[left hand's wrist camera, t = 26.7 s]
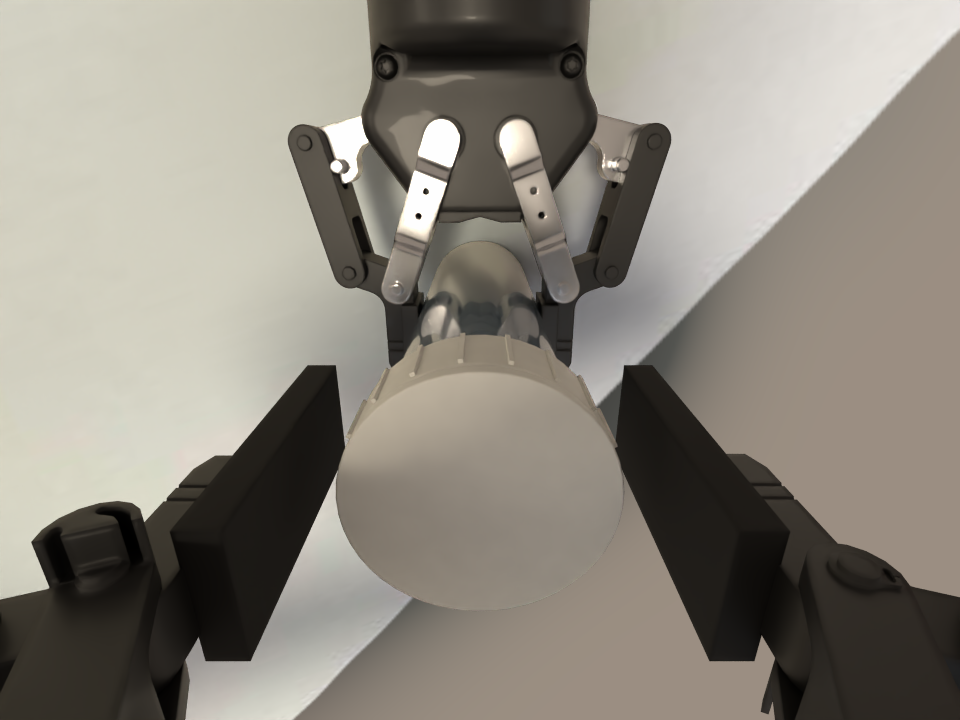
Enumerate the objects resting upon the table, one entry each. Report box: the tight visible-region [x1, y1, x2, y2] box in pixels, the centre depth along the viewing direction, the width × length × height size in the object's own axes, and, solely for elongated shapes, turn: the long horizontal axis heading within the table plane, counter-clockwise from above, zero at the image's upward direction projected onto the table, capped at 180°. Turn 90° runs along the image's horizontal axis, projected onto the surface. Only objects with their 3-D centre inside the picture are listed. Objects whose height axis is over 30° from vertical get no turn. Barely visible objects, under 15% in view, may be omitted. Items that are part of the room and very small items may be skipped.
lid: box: [336, 333, 624, 611], centre depth 11 cm, size 6×6×2 cm
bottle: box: [403, 241, 557, 358], centre depth 19 cm, size 5×5×17 cm
